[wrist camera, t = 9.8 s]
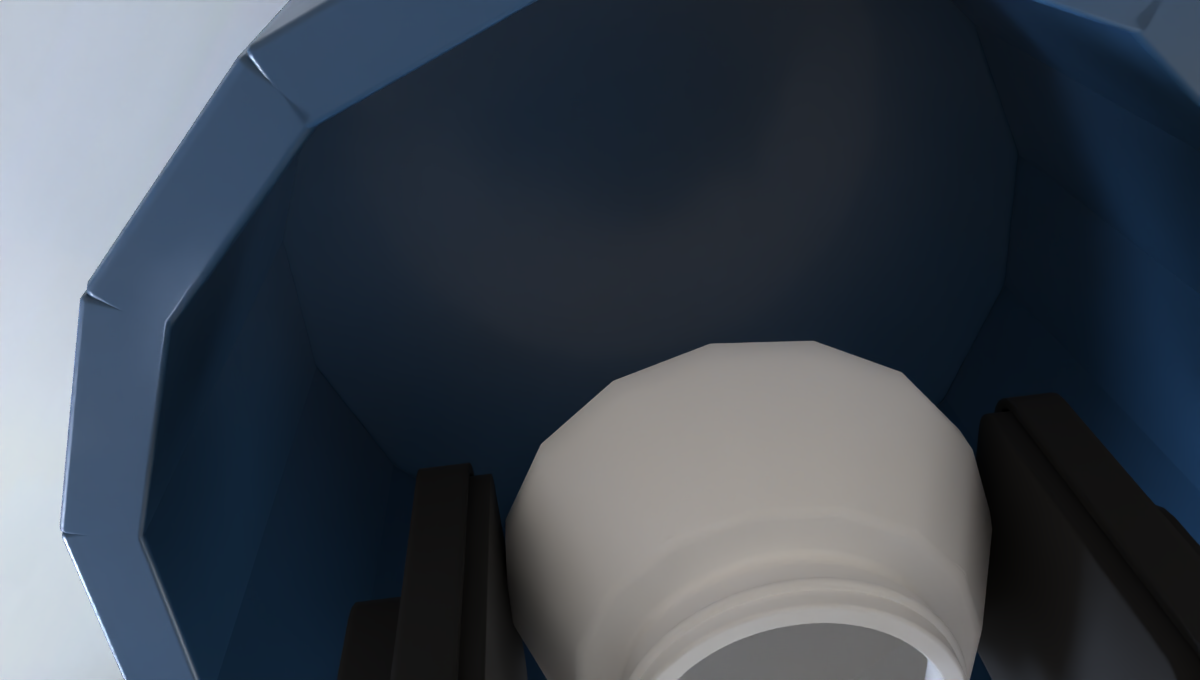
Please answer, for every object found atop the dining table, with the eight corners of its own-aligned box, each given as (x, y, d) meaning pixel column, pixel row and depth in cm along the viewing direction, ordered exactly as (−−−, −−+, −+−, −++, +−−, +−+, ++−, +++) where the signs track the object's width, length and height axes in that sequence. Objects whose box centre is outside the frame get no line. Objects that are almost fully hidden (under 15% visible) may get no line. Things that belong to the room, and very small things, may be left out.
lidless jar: (426, 429, 11) (608, 735, 13) (399, 639, 8) (632, 974, 11) (897, 247, 10) (1001, 602, 13) (1029, 414, 8) (1127, 821, 10)
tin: (343, 596, 21) (262, 1003, 14) (137, -138, 15) (-198, -45, 8) (1007, 514, 22) (1245, 874, 15) (1095, -242, 15) (1604, -243, 8)
